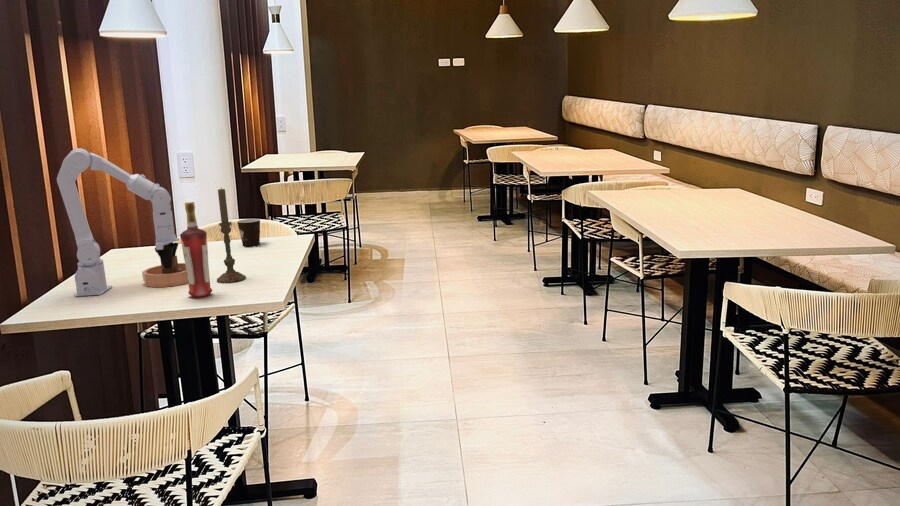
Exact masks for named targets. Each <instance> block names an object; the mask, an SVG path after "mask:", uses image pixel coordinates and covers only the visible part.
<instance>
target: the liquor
mask: <svg viewBox="0 0 900 506" xmlns="http://www.w3.org/2000/svg"><path fill="white" fill-rule="evenodd" d="M184 209H185V211H186V212H185V213H186V230H183V231H182V232H181V233H180V234H179V236H180V237H179V239H180V242H181V243H180V245H181V248H182V254H183V260H184V263H185V265H186V271H187V277H188V283H187V284H188V289H189V290H188V293H187V294H188V295H189V296H191V298H193V299H201V298H205V297H209V295H210V294H211V293H212V292H213V289H212V288H211V280H210V267H209V252H208V251H209V249H208V240H207V239H208V236H207V232H206V231H205V230H203V229H201V228H199V227H198V226H199V225H198V221H197V217H196V214H195V212H196V206H195V202H194V201H188V202H185V203H184Z"/></svg>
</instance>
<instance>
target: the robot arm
mask: <svg viewBox="0 0 900 506" xmlns="http://www.w3.org/2000/svg"><path fill="white" fill-rule="evenodd" d="M89 167H90V171H101V172H103V173H105V174H108V175H110V176H111V177H113V178H115V179H116V180H118V181H120V182H122V183H124V184H125V186H126V188H127V190H128V191H130V192H131V193H133V194H135V195H137V196H138V197H140V198H142V199H143V200H145V201H150V202H151V204H152V206H151V207H152V217H153V218H152V221H153V226H154V234H155V244H154V245H155V247H154V251H155V252H156V253H157V255H158V256H159V260H160V259H161V260H160V262H161V261H162V264H163V266H164V268H171V267H172V256H176V254H177V249H178V246H179V242H178V241H180V237H177V235H176V233H175V226H174V218H173V211H172V210H171V208H172V206H171V205H172V204H171V201H172V197H171V195H170V193H169V191H167V189H165V188H164V187H162V186H160V184H159V183H155V182H152V181H151V180H149V179H148V178H146V175H144V174H143V173H142V174H139V173H135V174H131V173H129V172H127V171H126V170H124V169H122V168H121V167H119V166H117V165H116V164H114V163H113V162H111V161H109V160H108V159H106V158H104V157H102V156H100V155H98V154H96V153H93V152H89V151H88V150H86V149H84V148H81V147H79V148H78V147H77V148H76V147H75V148H74V149H72V150H71V151H70V152H69V153H68V154H67V155H66V156H65V158H64V159H63V160H62V164H61V167H60V169H59V171H58V174H57V177H56V183H57V186H58V189H59V191H60V195H61V197H62V198H61V199H62V201H63V204H64V207H65V210H66V213H67V216H68V219H69V222H70V226H71V229H72V231H73V234H74V239H75V243H76V246H77V251H76V258H77V260H78V262H77V264H76V265H77V270H76V272H75V273H74V282H75V287H76V293H75V294H74V297H83V296H87V297H88V296H101V295H102V294H104V293H106V292H107V291H109V290H111V288H113V285H108V284H107V277H106V271H105V264H104V260H103V259H101V258H100V257H101V246H100V244H99V243H98V242H97V241H96V240H95V239H94V236H93V233H92V231H91V228H90V225H89V222H88V218H87V216H86V213H85V209H84V205H83V202H82V200H81V197H80V194H79V190H78V187H77V183H76V181H77V179H78V178H79V177H80V175H81V174H82V173H83V172H85V171H86V170H87V169H88V168H89Z"/></svg>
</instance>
